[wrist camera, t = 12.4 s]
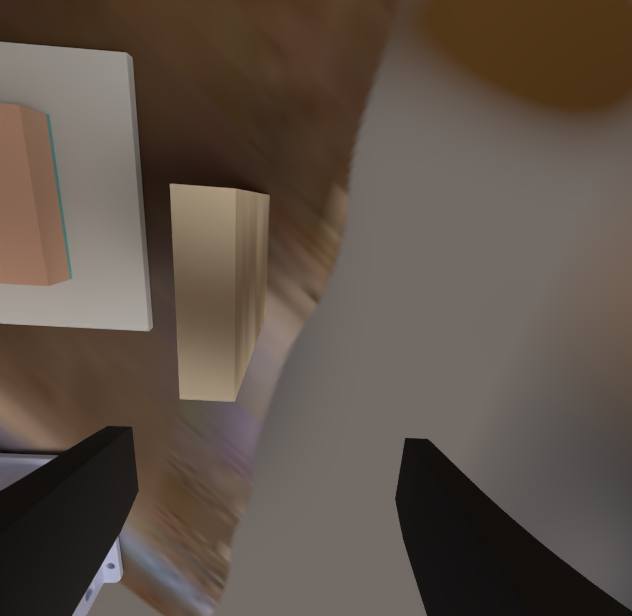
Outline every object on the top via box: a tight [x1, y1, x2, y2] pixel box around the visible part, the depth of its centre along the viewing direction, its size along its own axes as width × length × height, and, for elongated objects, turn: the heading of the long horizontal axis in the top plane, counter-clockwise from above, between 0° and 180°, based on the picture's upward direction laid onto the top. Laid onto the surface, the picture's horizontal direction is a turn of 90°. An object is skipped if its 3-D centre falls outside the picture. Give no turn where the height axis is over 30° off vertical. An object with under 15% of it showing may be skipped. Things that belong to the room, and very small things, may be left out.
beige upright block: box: [170, 184, 270, 402], centre depth 13 cm, size 6×2×8 cm, turn 176°
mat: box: [0, 42, 153, 331], centre depth 16 cm, size 12×12×1 cm
